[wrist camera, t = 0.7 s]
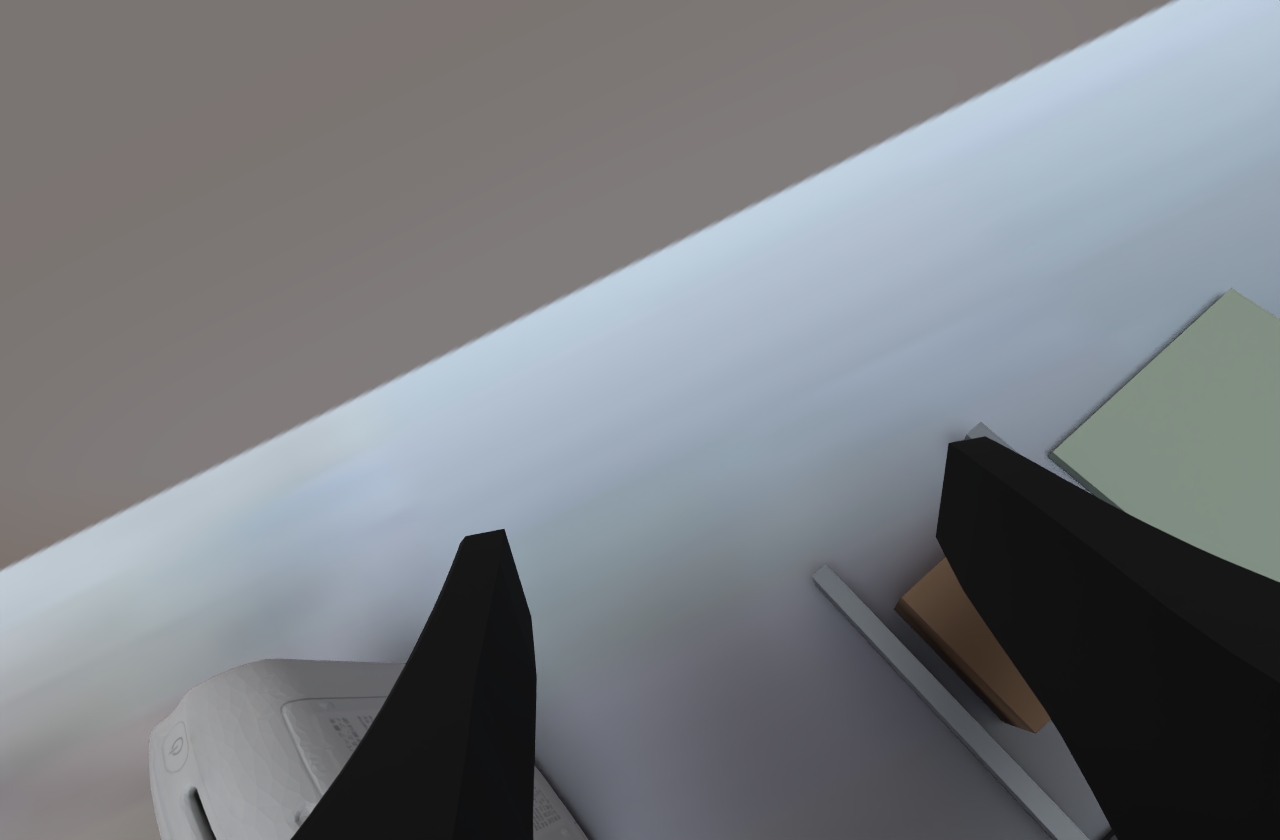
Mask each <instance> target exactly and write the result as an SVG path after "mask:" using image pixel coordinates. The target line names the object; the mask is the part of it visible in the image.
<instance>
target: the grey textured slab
mask: <svg viewBox="0 0 1280 840" xmlns="http://www.w3.org/2000/svg"><path fill="white" fill-rule="evenodd" d="M405 664H406V663H375V662H349V661H316V660H297V659H265V660H261V661H257V662H252V663H249V664H245V665H242V666H239V667H236V668H233V669H230V670H228V671H226V672H223V673H221V674H219V675H217V676H214V677H212V678H210V679H209V680H207V681H205V682H203V683H201V684H199V685H197V686H196V687H194V688H193V689H191V690H190V691H189V692H187V693H186V694H185V695H184V697H183V699H182V701H181V702H180V704H179V705H178V707H177V708H176V709H175V710H174V711H173V712H172V713H171V714H170V715H169V716H168V717H167V718H165V719H164V720H163V721H161V722H160V723H158V724H157V725H156V726H155V727H154V729H153V730H152V732H151V734H150V739H149V771H150V787H151V792H152V798H153V803H154V809H155V814H156V819H157V823H158V828H159V832H160V836H161V840H290V839H291V838H292V837H293V836H294V834H295V833H296V832H297V830H298V829H299V828H300V826H301V825H302V824H303V823H304V821H305V820H306V819H307V817H308V816H309V815H310V813H311V812H312V810H313V809H314V808H315V806H316V805H317V804H318V802H319V801H320V799H321V798H322V797H323V795H324V794H325V792H326V791H327V790H328V788H329V787H330V785H331V784H332V783H333V781H334V780H335V779H336V777H337V776H338V774H339V773H340V772H341V770H342V769H343V767H344V766H345V764H346V763H347V761H348V760H349V758H350V757H351V755H352V754H353V752H354V751H355V749H356V748H357V746H358V744H359V743H360V741H361V740H362V738H363V737H364V735H365V734H366V732H367V730H368V729H369V727H370V726H371V724H372V722H373V721H374V719H375V717H376V716H377V714H378V712H379V711H380V709H381V707H382V706H383V704H384V702H385V701H386V699H387V697H388V695H389V693H390V691H391V690H392V688H393V686H394V684H395V682H396V681H397V679H398V677H399V675H400V673H401V672H402V670H403V668H404V666H405ZM533 840H588V838H587V837H586V835H585V834H584V833H583V831H582V830H581V828H580V827H579V825H578V824H577V823H576V821H575V820H574V818H573V817H572V815H571V814H570V813H569V811H568V810H567V808H566V807H565V805H564V804H563V803H562V801H561V800H560V799H559V797H558V796H557V795H556V793H555V792H554V790H553V789H552V788H551V786H550V785H549V784H548V782H547V781H546V779H545V778H544V777H543V776H542V774H541V773H540V772H539V770H538V769H537V768H536V766H535V765H534V801H533Z"/></svg>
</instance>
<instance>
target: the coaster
mask: <svg viewBox="0 0 1280 840" xmlns="http://www.w3.org/2000/svg"><path fill="white" fill-rule="evenodd" d="M1048 457H1049V458H1050V459H1052V460H1053V461H1054V462H1055V463H1056V464H1058V465H1059V466H1060V467H1061V468H1062V469H1064V470H1065V471H1066V472H1067V473H1068V474H1070V475H1071V476H1072V477H1073V478H1074V479H1076V480H1077V481H1078V482H1079V483H1080V484H1082V485H1083V486H1084V487H1085V488H1086V489H1088V490H1089V491H1090V492H1091V493H1093V494H1094V495H1095V496H1096V497H1097V498H1099V499H1101V500H1103V501H1105V502H1107V503H1109V504H1110V505H1112V506H1114V507H1116V508H1118V509H1120V510H1122V511H1124V512H1126V513H1128V514H1130V515H1132V516H1134V517H1136V518H1137V519H1139V520H1141V521H1143V522H1145V523H1147V524H1149V525H1151V526H1153V527H1155V528H1158V529H1160V530H1162V531H1164V532H1166V533H1168V534H1170V535H1172V536H1174V537H1176V538H1178V539H1180V540H1182V541H1185V542H1187V543H1189V544H1191V545H1193V546H1195V547H1197V548H1199V549H1202V550H1204V551H1206V552H1208V553H1211V554H1213V555H1215V556H1217V557H1220V558H1222V559H1224V560H1227V561H1229V562H1232V563H1234V564H1236V565H1239V566H1241V567H1244V568H1246V569H1249V570H1251V571H1253V572H1256V573H1258V574H1261V575H1263V576H1266V577H1268V578H1270V579H1273V580H1275V581H1278V582H1280V319H1279V318H1277V317H1276V316H1274V315H1273V314H1271V313H1270V312H1268V311H1266V310H1265V309H1263V308H1262V307H1260V306H1259V305H1257V304H1256V303H1254V302H1253V301H1251V300H1249V299H1248V298H1246V297H1245V296H1243V295H1242V294H1240V293H1239V292H1237V291H1235V290H1234V289H1232V288H1231V289H1230V290H1229V291H1228V292H1227V293H1225V294H1224V295H1223V296H1222V297H1221V298H1220V299H1219V300H1218V301H1217V302H1216V303H1215V304H1213V305H1212V306H1211V307H1210V308H1209V309H1208V310H1207V311H1206V312H1205V313H1204V314H1203V315H1201V316H1200V317H1199V318H1198V319H1197V320H1196V321H1195V322H1194V323H1193V324H1192V325H1191V326H1189V327H1188V328H1187V329H1186V330H1185V331H1184V332H1183V333H1182V334H1181V335H1180V336H1179V337H1177V338H1176V339H1175V340H1174V341H1173V342H1172V343H1171V344H1170V345H1169V346H1168V347H1167V348H1165V349H1164V350H1163V351H1162V352H1161V353H1160V354H1159V355H1158V356H1157V357H1156V358H1155V359H1153V360H1152V361H1151V362H1150V363H1149V364H1148V365H1147V366H1146V367H1145V368H1144V369H1142V370H1141V371H1140V372H1139V373H1138V374H1137V375H1136V376H1135V377H1134V378H1133V379H1132V380H1130V381H1129V382H1128V383H1127V384H1126V385H1125V386H1124V387H1123V388H1122V389H1121V390H1120V391H1118V392H1117V393H1116V394H1115V395H1114V396H1113V397H1112V398H1111V399H1110V400H1109V401H1108V402H1106V403H1105V404H1104V405H1103V406H1102V407H1101V408H1100V409H1099V410H1098V411H1097V412H1096V413H1094V414H1093V415H1092V416H1091V417H1090V418H1089V419H1088V420H1087V421H1086V422H1085V423H1084V424H1082V425H1081V426H1080V427H1079V428H1078V429H1077V430H1076V431H1075V432H1074V433H1073V434H1072V435H1070V436H1069V437H1068V438H1067V439H1066V440H1065V441H1064V442H1063V443H1062V444H1061V445H1060V446H1058V447H1057V448H1056V449H1055V450H1054V451H1053V452H1052V453H1051V454H1050V455H1049V456H1048Z"/></svg>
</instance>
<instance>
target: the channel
mask: <svg viewBox="0 0 1280 840" xmlns="http://www.w3.org/2000/svg"><path fill="white" fill-rule="evenodd" d="M984 436H986V437H988V438H990V439H992V440H994V441H996V442H998V443H1000V444H1001V445H1003V446H1005V447H1007V448H1009V449H1011V450H1013V451H1014V452H1016V451H1015V450H1014V449H1013V448H1011V447H1010V446H1009V445H1008V444H1007V443H1005V442H1004V441H1003V440H1002V439H1001V438H1000V437H998V436H997V435H996V434H995V433H994V432H992V431H991V430H990V429H989V428H988V427H987V426H985V425H984V424H983V423H982V422H980V423H979V424H978V425H976V426H975V427H974V428H973V429H972V430H971V431H970V432H969V433H968V434H967V435H966V437H965V439H964V440H968V439H973V438H979V437H984ZM1016 453H1017V452H1016ZM1018 454H1019V453H1018ZM812 579H813V581H814V583H815V585H816V586H817V587H818V588H819V589H820V590H821V591H822V592H823V594H824V595H825V596H826V597H827V598H828V599H829V600H830V601H831V602H832V603H833V604H834V605H835V606H836V607H837V609H838V610H839V611H840V612H841V613H842V614H843V615H844V616H845V617H846V618H847V619H848V620H849V621H850V622H851V623H852V625H853V626H854V627H855V628H856V629H857V630H858V631H859V632H860V633H861V634H862V635H863V636H864V637H865V638H866V640H867V641H868V642H869V643H870V644H871V645H872V646H873V647H874V648H875V649H876V650H877V651H878V652H879V653H880V655H881V656H882V657H883V658H884V659H885V660H886V661H887V662H888V663H889V664H890V665H891V666H892V667H893V668H894V670H895V671H896V672H897V673H898V674H899V675H900V676H901V677H902V678H903V679H904V680H905V681H906V682H907V683H908V685H909V686H910V687H911V688H912V689H913V690H914V691H915V692H916V693H917V694H918V695H919V696H920V697H921V698H922V700H923V701H924V702H925V703H926V704H927V705H928V706H929V707H930V708H931V709H932V710H933V711H934V712H935V713H936V715H937V716H938V717H939V718H940V719H941V720H942V721H943V722H944V723H945V724H946V725H947V726H948V727H949V728H950V729H951V731H952V732H953V733H954V734H955V735H956V736H957V737H958V738H959V739H960V740H961V741H962V742H963V743H964V744H965V746H966V747H967V748H968V749H969V750H970V751H971V752H972V753H973V754H974V755H975V756H976V757H977V758H978V759H979V761H980V762H981V763H982V764H983V765H984V766H985V767H986V768H987V769H988V770H989V771H990V772H991V773H992V774H993V776H994V777H995V778H996V779H997V780H998V781H999V782H1000V783H1001V784H1002V785H1003V786H1004V787H1005V788H1006V789H1007V791H1008V792H1009V793H1010V794H1011V795H1012V796H1013V797H1014V798H1015V799H1016V800H1017V801H1018V802H1019V803H1020V804H1021V806H1022V807H1023V808H1024V809H1025V810H1026V811H1027V812H1028V813H1029V814H1030V815H1031V816H1032V817H1033V818H1034V819H1035V820H1036V822H1037V823H1038V824H1039V825H1040V826H1041V827H1042V828H1043V829H1044V830H1045V831H1046V832H1047V833H1048V834H1049V835H1050V837H1051V838H1052V839H1053V840H1090V839H1089V838H1088V837H1087V836H1086V835H1085V834H1084V833H1083V832H1082V831H1081V830H1080V829H1079V828H1078V827H1077V826H1076V825H1075V824H1074V823H1073V822H1072V821H1071V820H1070V819H1069V818H1068V816H1067V815H1066V814H1065V813H1064V812H1063V811H1062V810H1061V809H1060V808H1059V807H1058V806H1057V805H1056V804H1055V803H1054V802H1053V801H1052V800H1051V799H1050V798H1049V797H1048V796H1047V794H1046V793H1045V792H1044V791H1043V790H1042V789H1041V788H1040V787H1039V786H1038V785H1037V784H1036V783H1035V782H1034V781H1033V780H1032V779H1031V778H1030V777H1029V776H1028V775H1027V774H1026V773H1025V771H1024V770H1023V769H1022V768H1021V767H1020V766H1019V765H1018V764H1017V763H1016V762H1015V761H1014V760H1013V759H1012V758H1011V757H1010V756H1009V755H1008V754H1007V753H1006V752H1005V751H1004V749H1003V748H1002V747H1001V746H1000V745H999V744H998V743H997V742H996V741H995V740H994V739H993V738H992V737H991V736H990V735H989V734H988V733H987V732H986V731H985V730H984V729H983V728H982V726H981V725H980V724H979V723H978V722H977V721H976V720H975V719H974V718H973V717H972V716H971V715H970V714H969V713H968V712H967V711H966V710H965V709H964V708H963V707H962V706H961V704H960V703H959V702H958V701H957V700H956V699H955V698H954V697H953V696H952V695H951V694H950V693H949V692H948V691H947V690H946V689H945V688H944V687H943V686H942V685H941V684H940V683H939V681H938V680H937V679H936V678H935V677H934V676H933V675H932V674H931V673H930V672H929V671H928V670H927V669H926V668H925V667H924V666H923V665H922V664H921V663H920V662H919V661H918V659H917V658H916V657H915V656H914V655H913V654H912V653H911V652H910V651H909V650H908V649H907V648H906V647H905V646H904V645H903V644H902V643H901V642H900V641H899V640H898V639H897V638H896V636H895V635H894V634H893V633H892V632H891V631H890V630H889V629H888V628H887V627H886V626H885V625H884V624H883V623H882V622H881V621H880V620H879V619H878V618H877V617H876V616H875V614H874V613H873V612H872V611H871V610H870V609H869V608H868V607H867V606H866V605H865V604H864V603H863V602H862V601H861V600H860V599H859V598H858V597H857V596H856V595H855V594H854V593H853V591H852V590H851V589H850V588H849V587H848V586H847V585H846V584H845V583H844V582H843V581H842V580H841V579H840V578H839V577H838V576H837V575H836V574H835V573H834V572H833V571H832V569H831V568H830V567H829V566H828V565H827V564H826V563H825V564H824V565H823V566H822V567H821V568H820V569H819V570H818V571H817V572H816V573H814V574H813V575H812Z"/></svg>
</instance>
